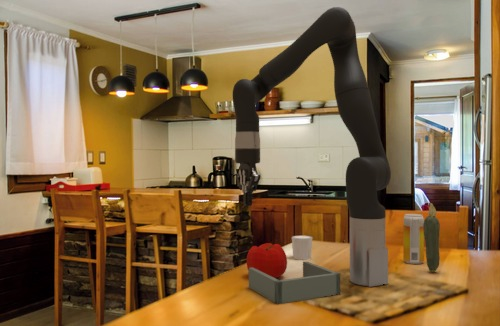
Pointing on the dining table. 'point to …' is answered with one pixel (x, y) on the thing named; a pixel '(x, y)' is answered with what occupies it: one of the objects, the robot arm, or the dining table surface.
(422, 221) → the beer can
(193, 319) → the dining table surface
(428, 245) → the vegetable
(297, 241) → the white cylindrical piece
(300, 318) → the dining table surface
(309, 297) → the crate
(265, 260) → the tomato
